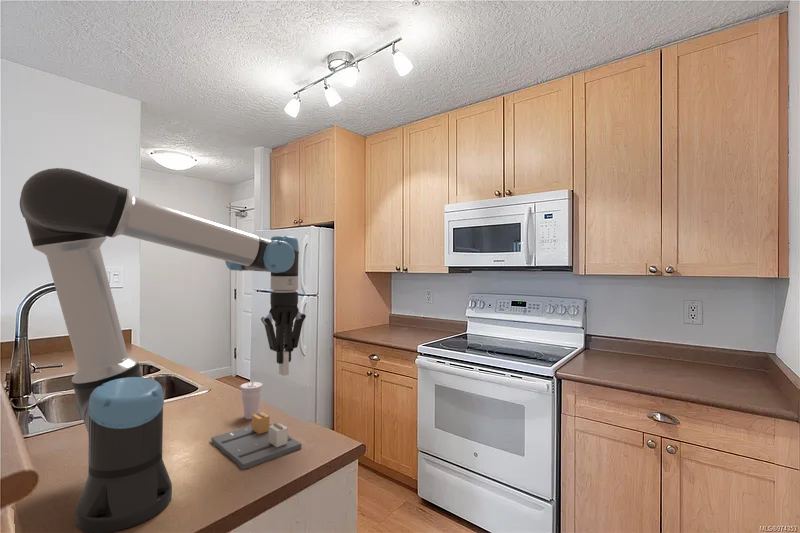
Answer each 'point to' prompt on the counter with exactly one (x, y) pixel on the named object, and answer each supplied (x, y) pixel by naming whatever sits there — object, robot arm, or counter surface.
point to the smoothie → (251, 397)
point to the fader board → (251, 446)
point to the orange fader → (260, 422)
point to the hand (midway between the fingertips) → (283, 374)
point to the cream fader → (278, 435)
